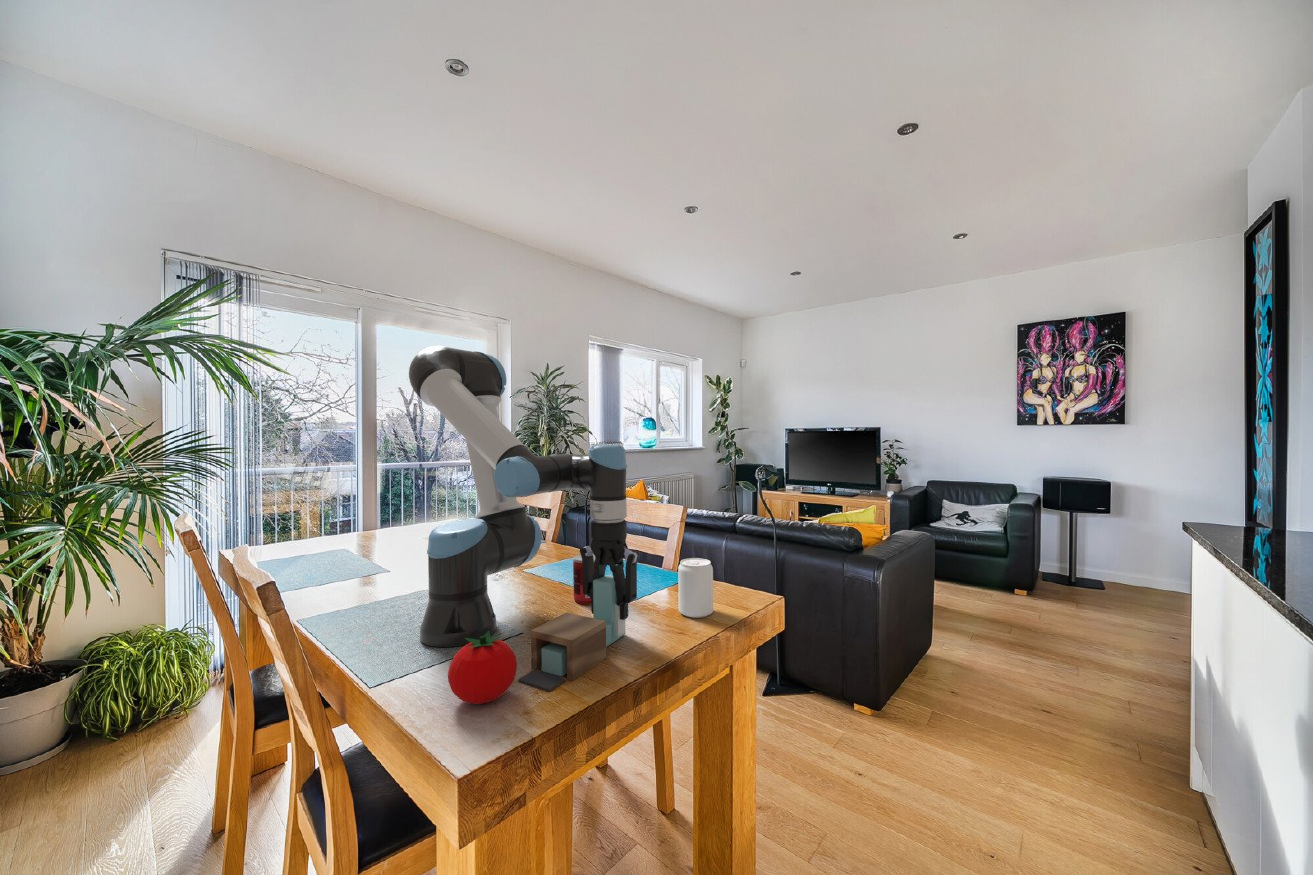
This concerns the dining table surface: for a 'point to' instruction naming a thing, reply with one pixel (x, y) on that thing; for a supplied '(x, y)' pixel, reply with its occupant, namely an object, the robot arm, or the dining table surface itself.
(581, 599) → the canned food
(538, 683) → the pad
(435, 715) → the dining table surface
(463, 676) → the tomato
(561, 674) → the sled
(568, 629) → the tunnel
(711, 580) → the beverage can
